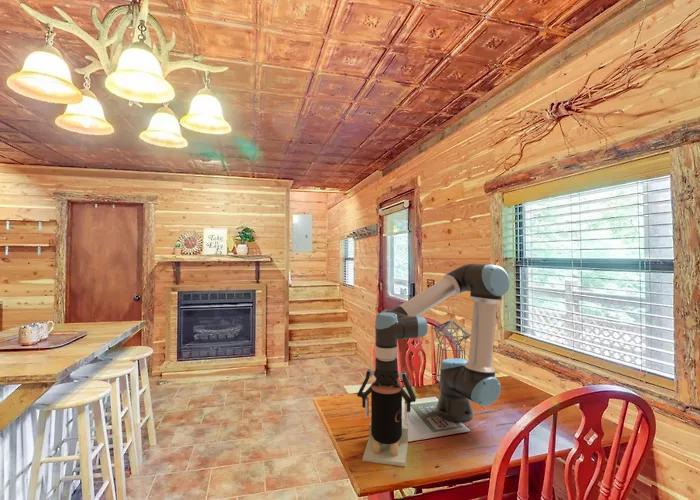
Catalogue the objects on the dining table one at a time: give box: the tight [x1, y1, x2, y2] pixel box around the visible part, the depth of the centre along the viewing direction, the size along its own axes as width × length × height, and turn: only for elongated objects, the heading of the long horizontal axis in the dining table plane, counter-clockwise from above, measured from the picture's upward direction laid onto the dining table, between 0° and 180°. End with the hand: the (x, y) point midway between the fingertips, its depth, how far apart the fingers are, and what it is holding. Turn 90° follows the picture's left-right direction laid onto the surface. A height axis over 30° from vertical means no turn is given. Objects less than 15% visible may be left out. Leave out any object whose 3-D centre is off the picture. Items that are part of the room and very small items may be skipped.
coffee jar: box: [370, 381, 403, 444], centre depth 123 cm, size 11×11×18 cm
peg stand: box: [362, 422, 409, 467], centre depth 123 cm, size 14×14×6 cm
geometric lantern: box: [431, 319, 471, 389], centre depth 177 cm, size 16×16×35 cm
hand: (386, 418), depth 123 cm, fingers open, 13 cm apart
